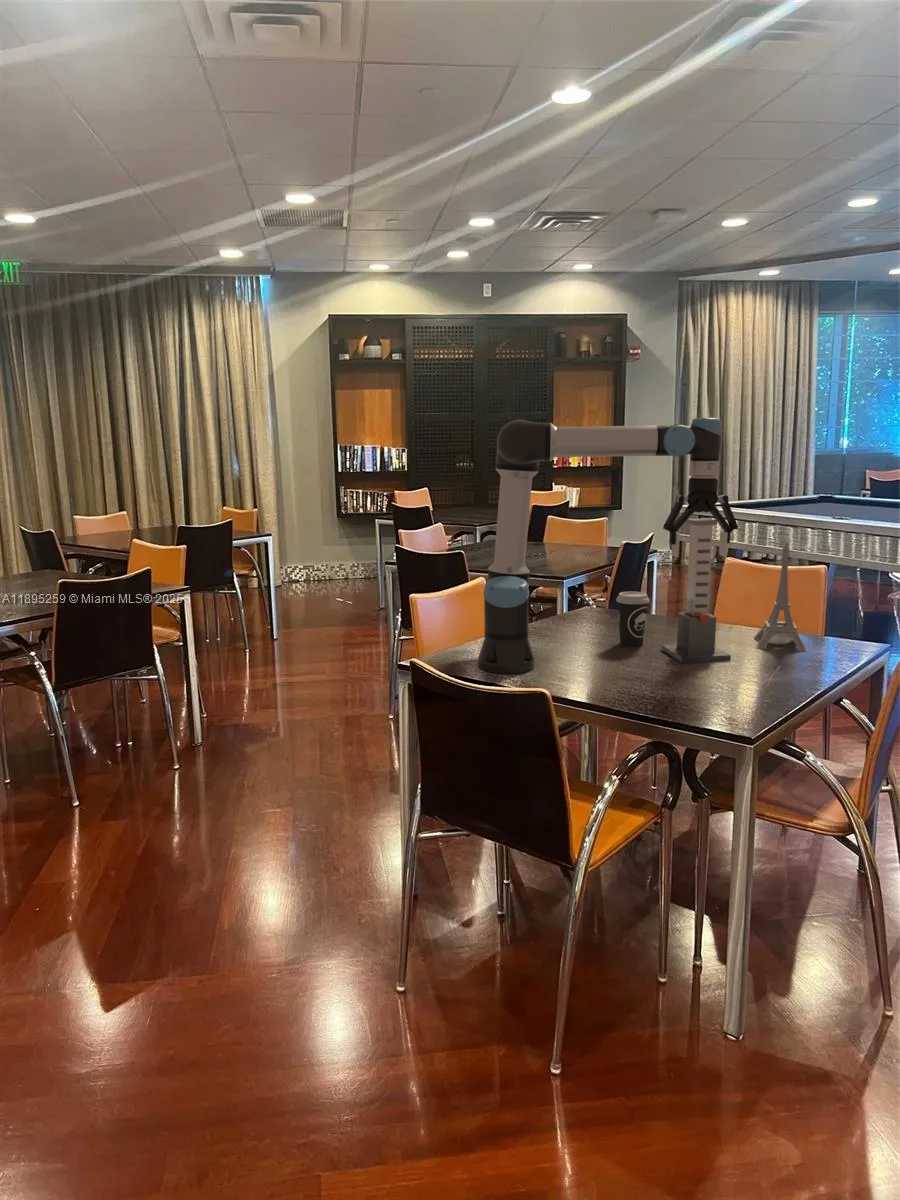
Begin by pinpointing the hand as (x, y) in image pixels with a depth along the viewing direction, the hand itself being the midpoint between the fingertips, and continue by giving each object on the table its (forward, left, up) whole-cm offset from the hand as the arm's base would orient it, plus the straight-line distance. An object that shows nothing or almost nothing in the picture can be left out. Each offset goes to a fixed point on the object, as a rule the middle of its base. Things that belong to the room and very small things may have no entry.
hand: (698, 556), depth 222 cm
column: (0, 0, -17) cm, 17 cm away
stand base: (0, 0, -28) cm, 28 cm away
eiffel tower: (+29, +7, -28) cm, 41 cm away
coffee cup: (-13, +15, -28) cm, 34 cm away
